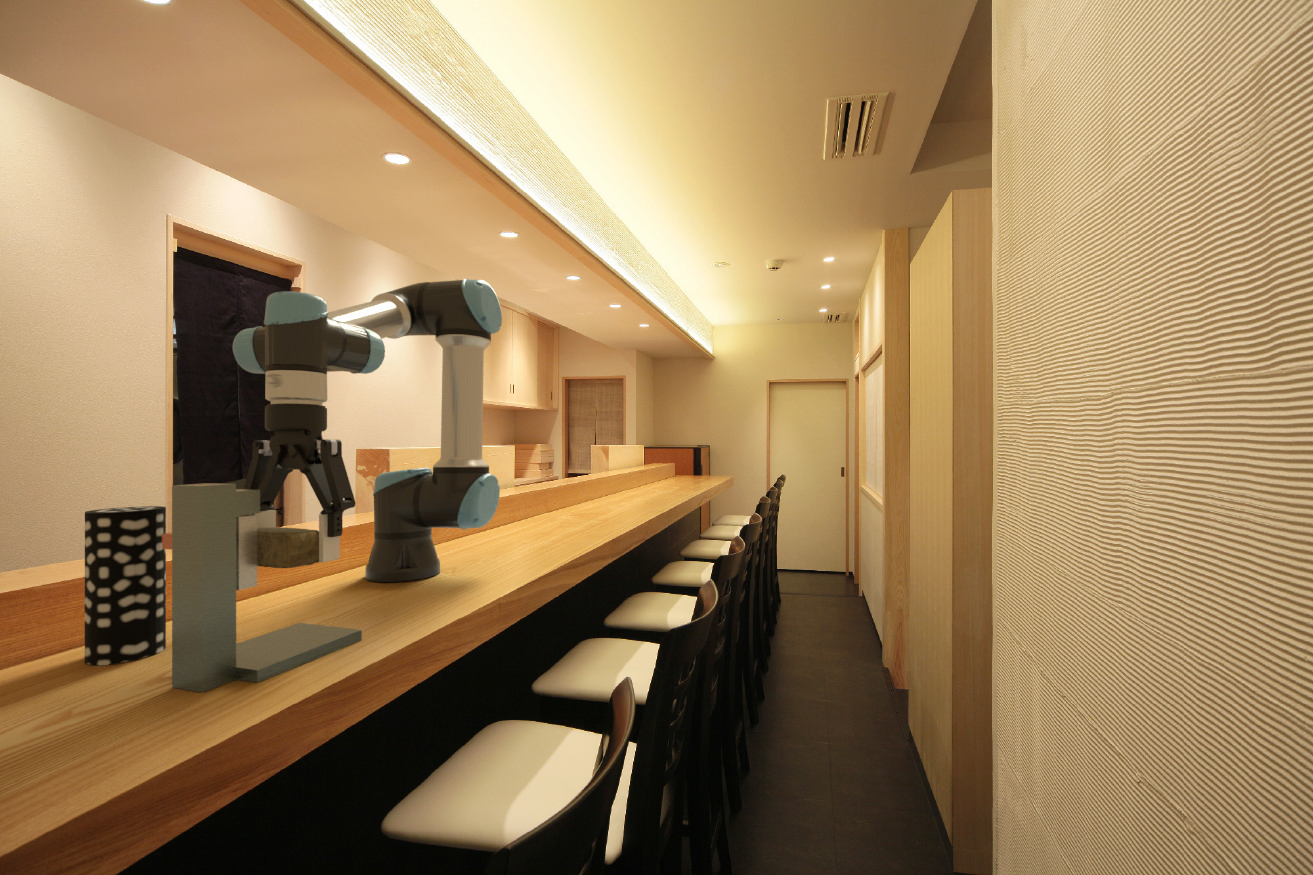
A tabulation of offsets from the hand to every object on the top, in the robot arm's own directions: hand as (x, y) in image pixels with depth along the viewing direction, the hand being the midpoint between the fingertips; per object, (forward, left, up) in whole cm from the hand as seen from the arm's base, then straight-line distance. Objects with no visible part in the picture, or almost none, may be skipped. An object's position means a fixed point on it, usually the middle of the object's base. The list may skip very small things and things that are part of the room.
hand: (296, 558), depth 82 cm
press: (+4, 0, -13) cm, 13 cm away
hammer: (+8, -5, -2) cm, 10 cm away
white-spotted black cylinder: (+8, -21, -13) cm, 26 cm away
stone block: (+3, 0, 0) cm, 3 cm away
